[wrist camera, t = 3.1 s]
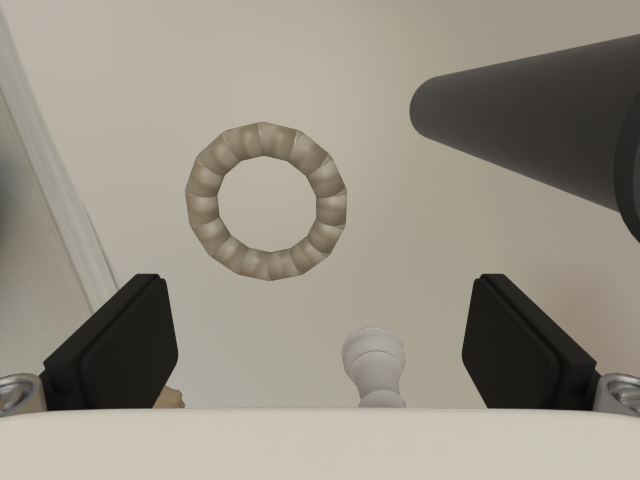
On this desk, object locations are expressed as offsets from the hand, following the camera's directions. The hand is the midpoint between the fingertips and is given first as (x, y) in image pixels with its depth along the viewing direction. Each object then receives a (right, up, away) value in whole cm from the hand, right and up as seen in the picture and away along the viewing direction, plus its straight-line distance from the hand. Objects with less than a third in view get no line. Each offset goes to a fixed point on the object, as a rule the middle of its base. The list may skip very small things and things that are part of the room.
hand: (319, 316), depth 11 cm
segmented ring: (-3, +4, +11) cm, 12 cm away
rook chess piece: (+4, -6, +16) cm, 17 cm away
